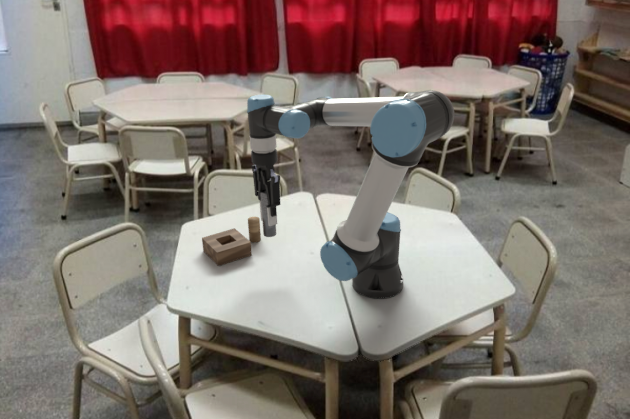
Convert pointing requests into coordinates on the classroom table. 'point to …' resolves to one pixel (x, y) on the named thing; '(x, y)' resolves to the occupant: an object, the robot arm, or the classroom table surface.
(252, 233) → the oak dowel
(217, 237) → the socket block
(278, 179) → the robot arm
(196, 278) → the classroom table surface
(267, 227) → the metal pin
